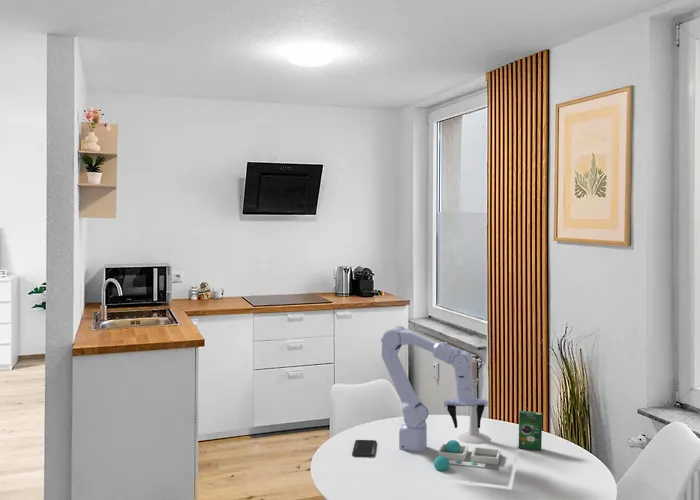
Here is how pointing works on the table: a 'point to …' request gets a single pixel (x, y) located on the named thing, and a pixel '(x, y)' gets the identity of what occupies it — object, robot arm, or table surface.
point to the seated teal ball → (453, 447)
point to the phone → (364, 448)
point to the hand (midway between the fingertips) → (467, 427)
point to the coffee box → (530, 430)
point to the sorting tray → (473, 457)
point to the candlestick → (474, 417)
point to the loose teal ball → (441, 463)
